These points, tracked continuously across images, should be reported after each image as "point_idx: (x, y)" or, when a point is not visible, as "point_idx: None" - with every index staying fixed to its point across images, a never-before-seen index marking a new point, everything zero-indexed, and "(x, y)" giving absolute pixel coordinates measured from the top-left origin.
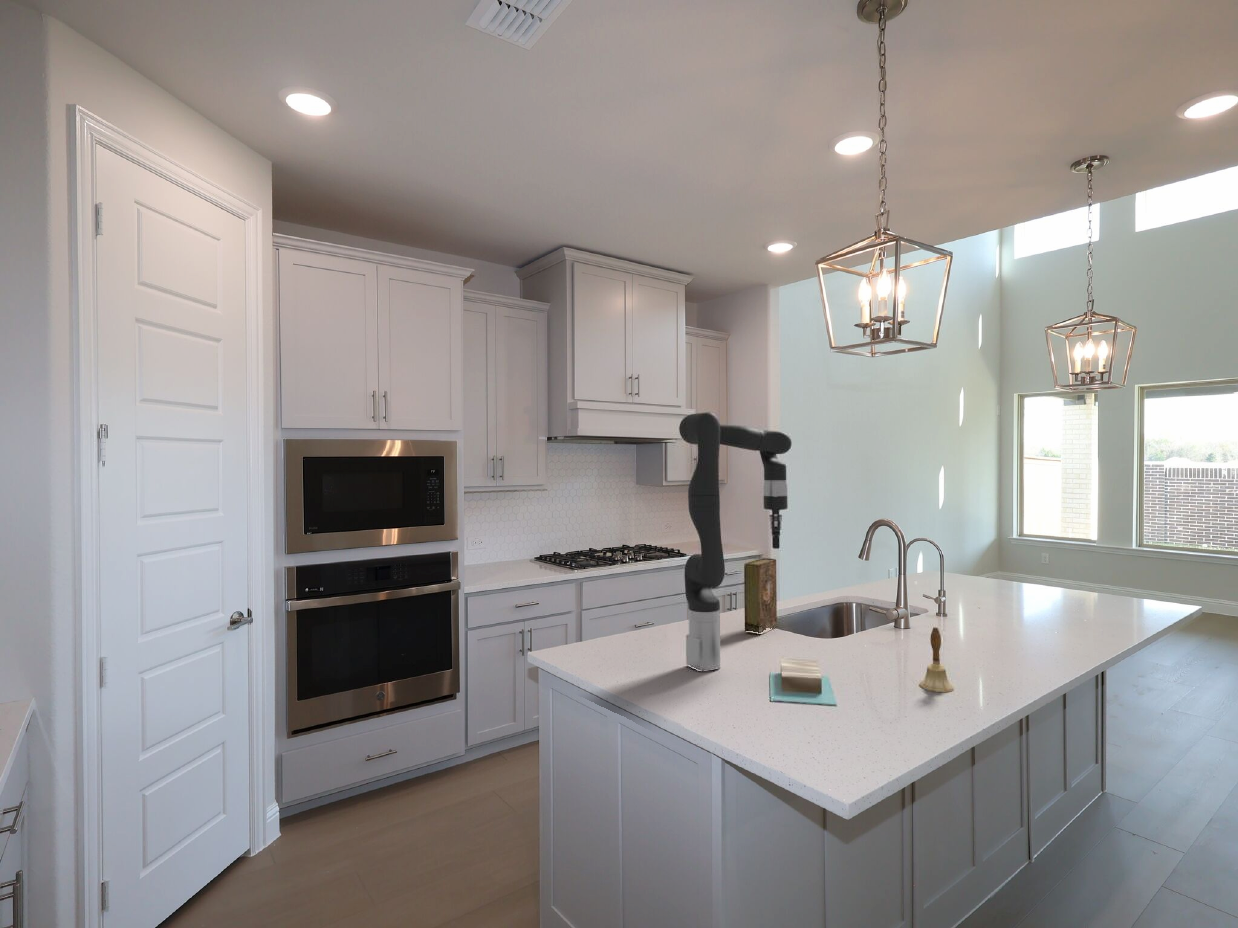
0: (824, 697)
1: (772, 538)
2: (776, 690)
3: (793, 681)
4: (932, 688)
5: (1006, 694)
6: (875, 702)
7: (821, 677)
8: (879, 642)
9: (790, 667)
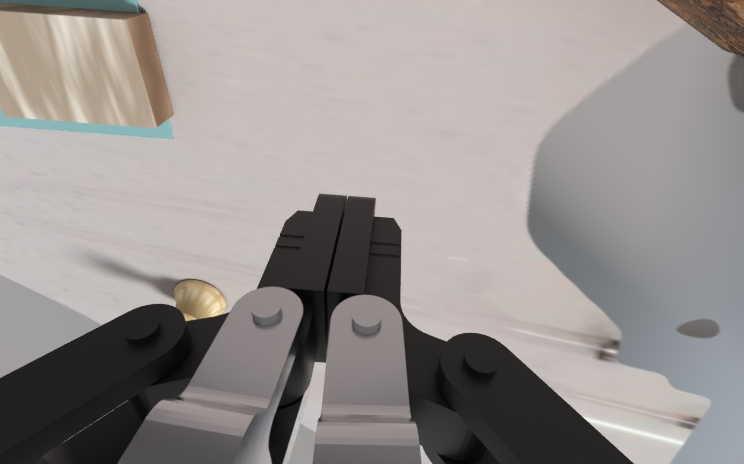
0: None
1: (292, 271)
2: None
3: None
4: (174, 291)
5: None
6: (60, 195)
7: None
8: (484, 288)
9: (46, 43)
